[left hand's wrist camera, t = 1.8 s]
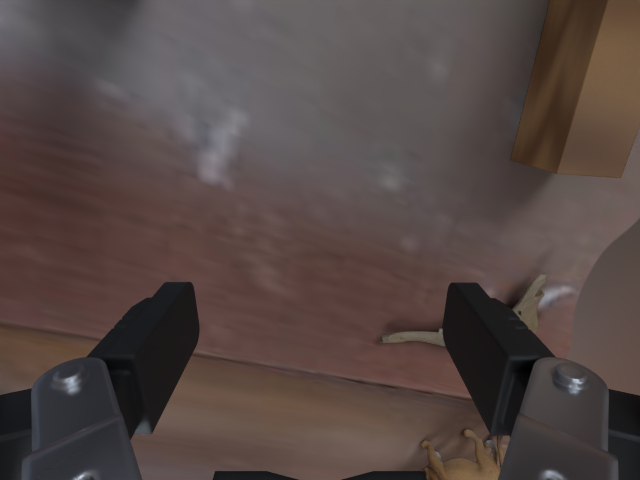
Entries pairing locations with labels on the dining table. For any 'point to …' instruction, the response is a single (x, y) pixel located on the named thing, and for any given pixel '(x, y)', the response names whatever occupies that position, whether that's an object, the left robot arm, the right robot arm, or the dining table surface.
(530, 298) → the jawbone
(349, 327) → the dining table surface
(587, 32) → the bar
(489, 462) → the lion figurine
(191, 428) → the dining table surface
